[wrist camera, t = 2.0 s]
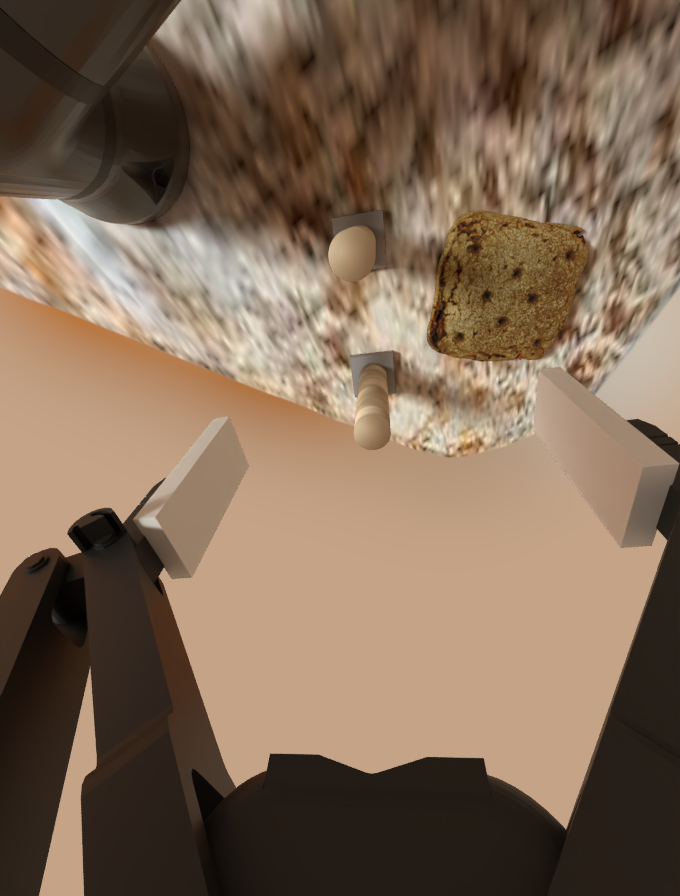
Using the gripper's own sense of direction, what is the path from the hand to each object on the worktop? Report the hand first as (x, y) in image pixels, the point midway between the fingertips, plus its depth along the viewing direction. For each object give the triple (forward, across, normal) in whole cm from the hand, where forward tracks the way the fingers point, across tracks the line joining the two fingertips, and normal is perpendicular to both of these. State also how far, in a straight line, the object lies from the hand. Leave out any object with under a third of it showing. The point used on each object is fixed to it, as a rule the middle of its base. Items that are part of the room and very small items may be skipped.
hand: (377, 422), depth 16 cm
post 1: (+29, -1, +6) cm, 29 cm away
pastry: (+29, +13, -2) cm, 32 cm away
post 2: (+29, -2, -8) cm, 30 cm away
